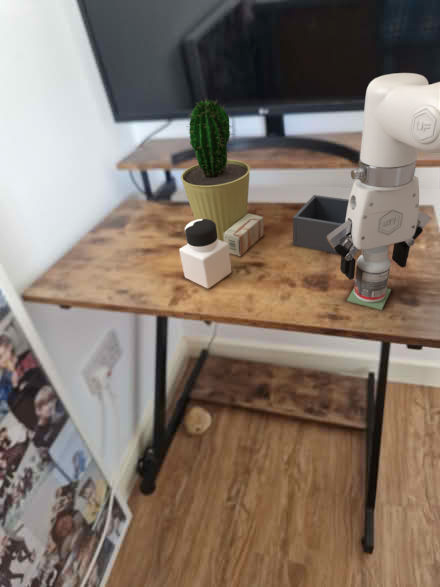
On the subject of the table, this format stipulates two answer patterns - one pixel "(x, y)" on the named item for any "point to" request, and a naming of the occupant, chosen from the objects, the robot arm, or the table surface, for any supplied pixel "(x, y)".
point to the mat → (375, 305)
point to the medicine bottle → (204, 254)
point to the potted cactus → (215, 170)
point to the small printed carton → (244, 234)
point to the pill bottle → (372, 274)
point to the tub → (319, 222)
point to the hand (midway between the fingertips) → (373, 269)
